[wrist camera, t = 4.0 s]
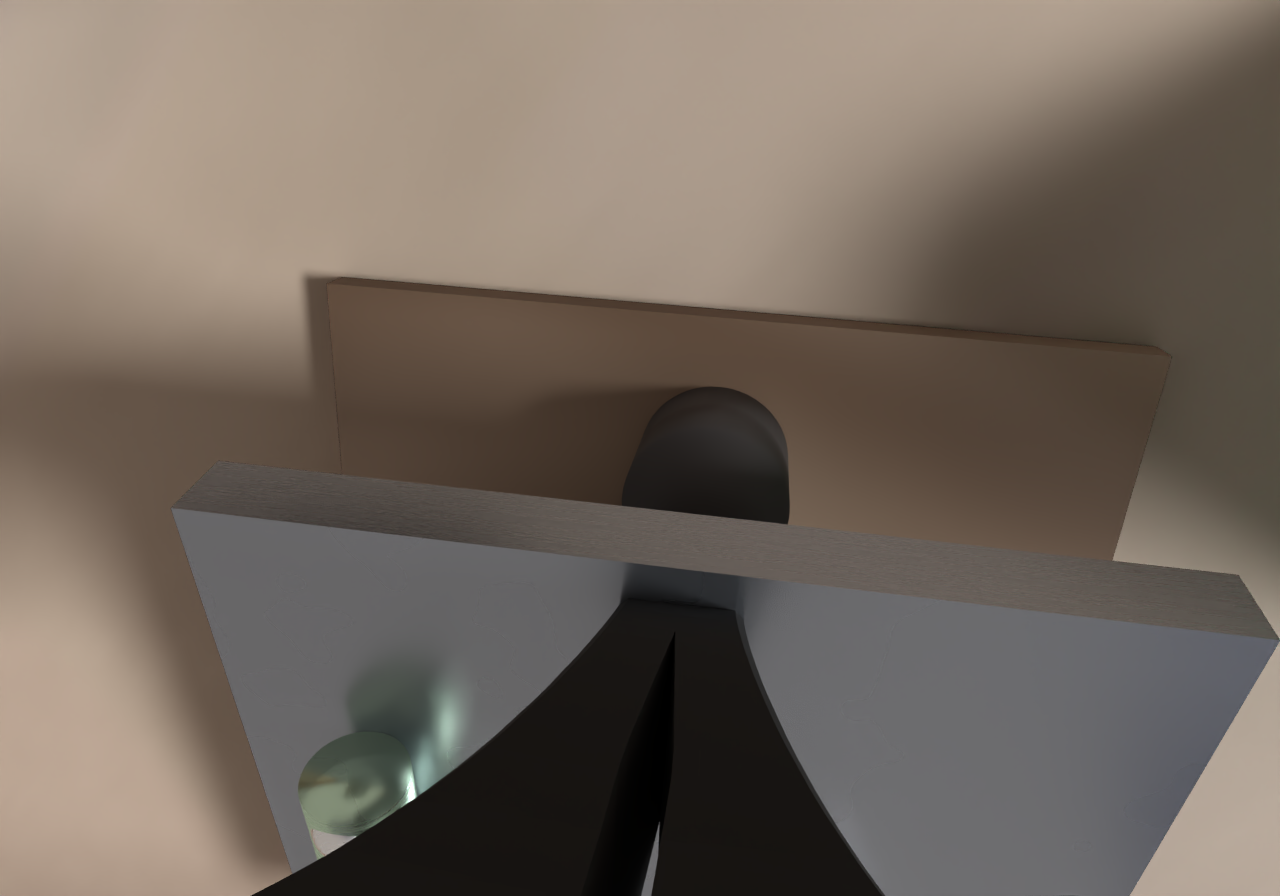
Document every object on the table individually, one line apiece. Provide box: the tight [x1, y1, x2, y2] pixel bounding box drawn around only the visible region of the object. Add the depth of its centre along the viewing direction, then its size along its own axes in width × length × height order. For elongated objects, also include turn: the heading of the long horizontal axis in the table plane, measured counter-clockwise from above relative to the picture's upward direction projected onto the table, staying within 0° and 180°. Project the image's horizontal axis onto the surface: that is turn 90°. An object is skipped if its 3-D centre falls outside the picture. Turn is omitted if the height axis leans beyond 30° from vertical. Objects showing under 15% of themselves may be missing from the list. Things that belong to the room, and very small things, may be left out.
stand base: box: [327, 277, 1172, 561], centre depth 17 cm, size 16×14×3 cm
